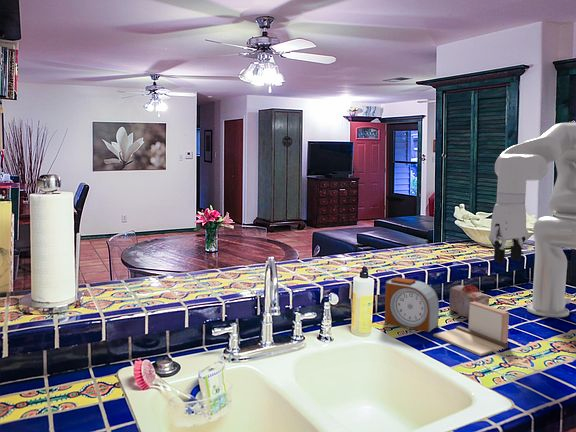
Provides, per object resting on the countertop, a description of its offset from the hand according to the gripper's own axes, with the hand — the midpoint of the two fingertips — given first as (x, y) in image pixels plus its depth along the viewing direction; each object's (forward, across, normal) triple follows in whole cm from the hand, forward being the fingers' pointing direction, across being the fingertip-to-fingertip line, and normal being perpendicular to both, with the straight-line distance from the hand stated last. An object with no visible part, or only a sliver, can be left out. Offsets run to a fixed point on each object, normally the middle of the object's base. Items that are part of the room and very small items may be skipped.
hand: (507, 260), depth 156 cm
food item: (+22, -4, -17) cm, 28 cm away
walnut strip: (+22, +10, 0) cm, 24 cm away
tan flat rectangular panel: (+22, +15, 0) cm, 26 cm away
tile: (+22, +7, 0) cm, 23 cm away
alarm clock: (+22, +18, -20) cm, 35 cm away
